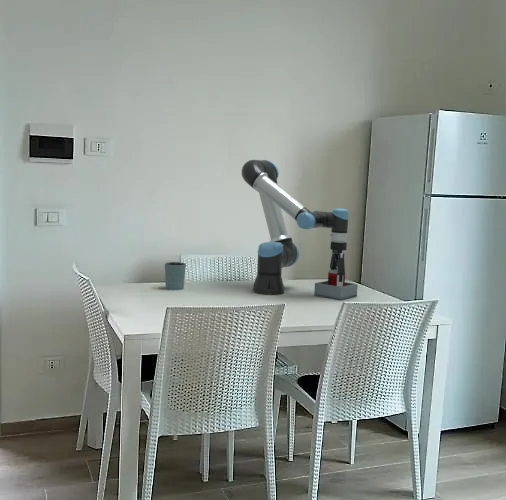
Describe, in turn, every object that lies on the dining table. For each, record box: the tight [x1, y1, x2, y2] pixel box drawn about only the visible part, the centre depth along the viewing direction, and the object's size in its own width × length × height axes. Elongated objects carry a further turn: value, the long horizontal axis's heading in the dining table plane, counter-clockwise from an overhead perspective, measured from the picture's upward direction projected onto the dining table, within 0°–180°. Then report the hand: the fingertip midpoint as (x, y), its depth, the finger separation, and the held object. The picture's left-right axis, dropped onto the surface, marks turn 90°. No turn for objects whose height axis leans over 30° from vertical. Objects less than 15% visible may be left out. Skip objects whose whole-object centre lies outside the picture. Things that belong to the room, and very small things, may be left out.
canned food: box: [327, 269, 346, 287], centre depth 327 cm, size 8×8×11 cm
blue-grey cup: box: [164, 261, 187, 291], centre depth 329 cm, size 10×10×12 cm
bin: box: [313, 280, 359, 301], centre depth 327 cm, size 15×15×6 cm
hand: (336, 286), depth 327 cm, fingers open, 13 cm apart
